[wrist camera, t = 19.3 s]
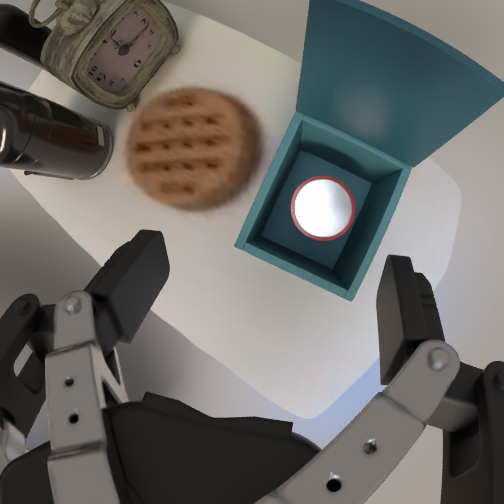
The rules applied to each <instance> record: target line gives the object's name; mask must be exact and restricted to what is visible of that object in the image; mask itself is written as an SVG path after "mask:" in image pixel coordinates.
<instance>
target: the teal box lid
mask: <svg viewBox="0 0 504 504" xmlns="http://www.w3.org/2000/svg"><path fill="white" fill-rule="evenodd" d="M503 97H504V82H503V81H501V80H500V79H499V78H497V77H496V76H495V75H493V74H492V73H491V72H489V71H488V70H487V69H485V68H484V67H482V66H481V65H479V64H478V63H476V62H475V61H473V60H472V59H471V58H469V57H468V56H466V55H465V54H463V53H461V52H460V51H458V50H457V49H455V48H453V47H452V46H450V45H449V44H446V43H445V42H443V41H442V40H440V39H438V38H437V37H435V36H433V35H431V34H430V33H428V32H426V31H424V30H422V29H420V28H418V27H416V26H415V25H412V24H411V23H409V22H407V21H405V20H403V19H401V18H398V17H396V16H394V15H392V14H390V13H388V12H385V11H383V10H381V9H379V8H376V7H374V6H372V5H369V4H367V3H364V2H362V1H359V0H310V2H309V11H308V19H307V27H306V35H305V43H304V51H303V59H302V66H301V74H300V81H299V89H298V96H297V104H296V111H298V112H301V113H303V114H305V115H308V116H310V117H313V118H315V119H317V120H319V121H322V122H324V123H326V124H329V125H331V126H333V127H335V128H337V129H339V130H342V131H344V132H346V133H348V134H350V135H352V136H354V137H356V138H358V139H360V140H362V141H364V142H366V143H368V144H370V145H372V146H374V147H376V148H378V149H380V150H382V151H384V152H386V153H388V154H390V155H391V156H393V157H395V158H397V159H399V160H401V161H402V162H404V163H406V164H408V165H410V166H411V167H413V168H414V167H415V166H417V165H418V164H419V163H421V162H422V161H423V160H424V159H426V158H427V157H428V156H430V155H431V154H432V153H433V152H435V151H436V150H437V149H439V148H440V147H441V146H443V145H444V144H445V143H446V142H448V141H449V140H450V139H451V138H453V137H454V136H455V135H457V134H458V133H459V132H460V131H462V130H463V129H464V128H465V127H467V126H468V125H469V124H471V123H472V122H473V121H474V120H476V119H477V118H478V117H479V116H481V115H482V114H483V113H484V112H486V111H487V110H488V109H489V108H490V107H492V106H493V105H494V104H495V103H496V102H498V101H499V100H500V99H502V98H503Z"/></svg>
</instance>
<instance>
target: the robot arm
mask: <svg viewBox="0 0 504 504" xmlns="http://www.w3.org/2000/svg"><path fill="white" fill-rule="evenodd" d="M112 149H113V138H112V134H111V132H110V130H109V128H108V127H107V126H106V125H105V124H103V123H102V122H99V121H97V120H93V119H91V118H89V117H87V116H85V115H82V114H80V113H78V112H76V111H73V110H71V109H69V108H66V107H64V106H62V105H60V104H57V103H55V102H53V101H50V100H48V99H45V98H43V97H41V96H38V95H36V94H33V93H31V92H28V91H26V90H23V89H20V88H18V87H15V86H12V85H10V84H7V83H5V82H2V81H0V167H4V168H11V169H19V170H25V171H24V174H25V175H29V174H31V173H33V174H34V175H41V176H48V177H55V178H62V179H69V180H73V179H75V178H76V179H80V180H88V179H92V178H94V177H96V176H97V175H98V174H100V173H101V172H102V171H103V170H104V168H105V167H106V165H107V164H108V162H109V160H110V157H111V154H112ZM169 271H170V265H169V260H168V256H167V251H166V246H165V242H164V237H163V234H162V232H161V231H154V230H143V229H142V230H140V231H139V232H138V233H137V234H136V235H135V237H134V238H133V239H132V240H131V241H128V242H127V243H125V244H124V245H122V246H121V247H119V248H118V249H117V250H116V251H115V252H114V253H113V254H112V256H111V257H110V259H108V260H107V262H106V263H105V264H104V266H102V268H101V269H100V270H99V271H98V273H97V274H96V275H95V276H94V278H93V279H92V280H91V281H90V283H89V284H88V285H87V287H86V288H85V289H84V290H83V291H73V292H70V293H68V294H66V295H64V296H63V297H62V298H61V299H60V300H59V301H58V302H57V304H53V305H41V303H40V301H39V299H38V297H37V296H36V295H34V294H25V295H22V296H21V297H19V298H17V299H16V300H15V301H14V302H13V303H12V304H11V305H10V307H9V308H8V309H7V310H6V312H5V313H4V315H3V316H2V317H1V319H0V504H364V503H365V502H366V501H367V500H368V498H369V497H370V496H371V495H372V494H373V493H374V492H375V491H376V490H377V489H378V487H379V486H380V485H381V484H382V483H383V482H384V481H385V479H386V478H387V477H388V476H389V475H390V474H391V472H392V471H393V470H394V469H395V468H396V466H397V465H398V464H399V462H400V461H401V460H402V459H403V457H404V456H405V455H406V454H407V452H408V451H409V450H410V448H411V447H412V446H413V444H414V443H415V441H416V440H417V439H418V438H419V436H420V435H421V433H422V432H423V430H424V429H425V427H426V424H428V425H431V426H434V427H437V428H440V429H443V469H442V489H441V503H440V504H504V362H502V361H494V362H491V363H490V364H488V366H487V367H486V368H485V369H484V370H482V369H479V368H476V367H473V366H470V365H467V364H465V363H462V362H461V361H460V360H459V357H458V354H457V352H456V351H455V350H454V348H453V347H452V346H450V345H449V344H447V343H446V342H445V338H444V334H443V329H442V325H441V321H440V317H439V313H438V309H437V307H436V302H435V298H434V295H433V291H432V287H431V284H430V282H429V281H428V280H427V279H426V277H425V276H424V275H423V274H422V273H417V272H414V270H413V266H412V262H411V259H410V257H407V256H398V255H388V256H387V259H386V262H385V266H384V270H383V273H382V277H381V280H380V284H379V287H378V292H377V299H376V309H377V321H378V335H379V352H380V374H381V385H388V386H387V387H386V388H385V389H384V390H383V391H382V392H379V393H378V394H377V395H376V396H374V397H373V399H372V400H371V401H370V402H369V403H368V404H367V405H366V406H365V407H364V408H363V409H362V411H361V412H360V413H359V414H358V415H357V416H356V417H355V418H354V419H353V420H352V421H351V422H350V423H349V424H348V425H347V426H346V427H345V428H344V429H343V430H342V431H341V432H340V433H339V434H338V435H337V436H336V437H335V438H334V439H333V440H332V441H331V442H330V443H329V444H328V445H327V446H326V447H325V448H324V449H321V448H319V447H318V446H317V445H316V444H315V443H313V442H312V441H310V440H309V439H307V438H305V437H303V436H301V435H299V434H297V433H294V432H292V426H293V422H287V421H280V420H273V419H266V418H260V417H233V418H232V417H231V418H213V417H210V416H208V415H205V414H204V413H202V412H200V411H198V410H196V409H194V408H192V407H190V406H188V405H186V404H184V403H182V402H181V401H179V400H175V399H172V398H168V397H164V396H161V395H157V394H153V393H150V392H146V393H145V395H144V397H143V399H142V400H139V401H130V400H129V398H128V396H127V393H126V390H125V386H124V382H123V377H122V373H121V368H120V364H119V359H118V355H117V350H116V348H115V345H116V344H117V342H118V341H120V342H124V343H128V344H130V343H131V341H132V339H133V337H134V336H135V334H136V332H137V330H138V329H139V327H140V325H141V323H142V322H143V320H144V318H145V317H146V315H147V313H148V311H149V310H150V308H151V306H152V305H153V303H154V301H155V300H156V298H157V296H158V294H159V293H160V291H161V289H162V288H163V286H164V284H165V283H166V281H167V279H168V276H169ZM26 343H27V345H28V346H29V348H30V349H31V350H32V354H31V355H30V357H29V358H28V360H27V362H26V363H25V365H24V367H23V368H22V370H21V372H20V373H19V375H18V377H17V376H16V375H15V373H14V362H15V360H16V359H17V357H18V356H19V354H20V352H21V351H22V349H23V348H24V346H25V344H26ZM45 399H46V401H47V414H48V425H49V435H50V441H48V442H46V443H44V444H42V445H40V446H38V447H36V448H34V449H33V450H31V451H29V449H28V448H27V447H26V438H27V436H28V434H29V432H30V429H31V428H32V425H33V423H34V421H35V419H36V417H37V415H38V413H39V411H40V409H41V407H42V405H43V403H44V401H45Z"/></svg>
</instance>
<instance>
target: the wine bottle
mask: <svg viewBox="0 0 504 504" xmlns="http://www.w3.org/2000/svg"><path fill="white" fill-rule="evenodd" d="M34 21H35V23H37V24H40V23H41V22H39V21H37V20H36V19H34ZM51 32H52V30H51V29H50V28H48V27H47V26H43V27H39V28H36V27H33V26H32V25H31V24H30V21H29V15H28V14H27V13H25V12H24V11H22V10H20V9H19V8H17V7H15V6H13V5H9V4H0V48H2V49H4V50H6V51H8V52H10V53H12V54H14V55H16V56H18V57H20V58H22V59H24V60H26V61H28V62H30V63H33V64H34V65H36V66H38V67H40V68H42V69H44V70H46V68H45V67H44V66H43V64H42V62H41V60H40V58H41V51H42V48H43V45H44V43H45V41H46V39H47V38H48V36H49V35H50V33H51ZM46 71H47V70H46Z"/></svg>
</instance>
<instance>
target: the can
mask: <svg viewBox="0 0 504 504" xmlns="http://www.w3.org/2000/svg"><path fill="white" fill-rule="evenodd" d="M290 209H291V216H292V219H293V222H294V224H295V225H296V227H297V228H298V230H299V231H300V232H301V233H303V234H304V235H305V236H307V237H309V238H311V239H313V240H317V241H330V240H334V239H336V238H338V237H340V236H342V235H343V234H344V233H345V232H346V231H347V230H348V229H349V228H350V226H351V225H352V223H353V220H354V217H355V210H356V208H355V201H354V198H353V195H352V193H351V191H350V190H349V188H348V187H347V186H346V185H345V184H344V183H343V182H341V181H340V180H338V179H336V178H334V177H331V176H324V175H321V176H314V177H311V178H309V179H307V180H305V181H304V182H302V183H301V184H300V185H299V186H298V187H297V189H296V190H295V192H294V194H293V196H292V199H291V206H290Z"/></svg>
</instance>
